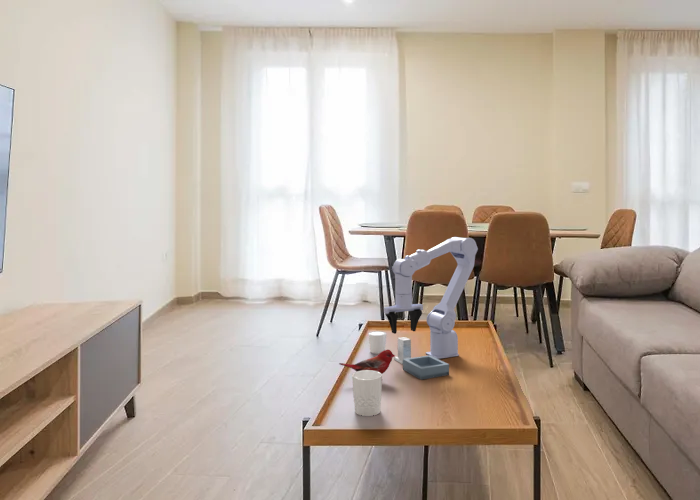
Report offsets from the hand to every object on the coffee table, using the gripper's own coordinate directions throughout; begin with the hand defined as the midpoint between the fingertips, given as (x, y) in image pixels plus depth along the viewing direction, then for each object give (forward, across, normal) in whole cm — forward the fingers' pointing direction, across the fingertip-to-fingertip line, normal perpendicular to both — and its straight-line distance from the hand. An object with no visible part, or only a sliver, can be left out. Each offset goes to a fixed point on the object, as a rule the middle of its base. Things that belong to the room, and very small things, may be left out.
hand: (403, 331), depth 180 cm
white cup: (+11, +31, +35) cm, 48 cm away
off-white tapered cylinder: (+11, +3, -15) cm, 19 cm away
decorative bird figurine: (+11, +21, +14) cm, 27 cm away
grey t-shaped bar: (+10, 0, 0) cm, 10 cm away
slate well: (+10, 0, +14) cm, 17 cm away
